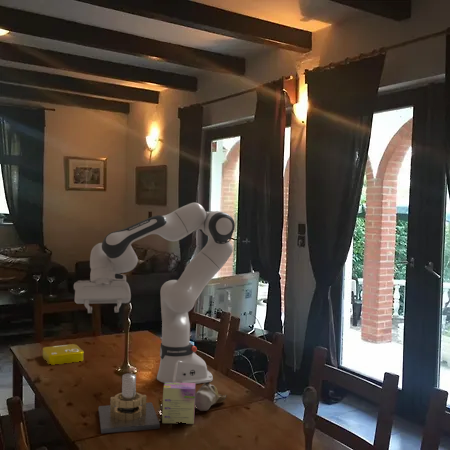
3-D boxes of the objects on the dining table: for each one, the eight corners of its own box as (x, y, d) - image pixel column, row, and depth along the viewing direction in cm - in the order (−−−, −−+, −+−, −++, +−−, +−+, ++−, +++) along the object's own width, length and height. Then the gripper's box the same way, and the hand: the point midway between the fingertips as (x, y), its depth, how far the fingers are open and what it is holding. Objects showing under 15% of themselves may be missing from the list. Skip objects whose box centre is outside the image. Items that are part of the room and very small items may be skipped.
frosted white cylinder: (134, 411, 177) (135, 373, 177) (136, 417, 173) (137, 377, 172) (120, 412, 176) (121, 373, 175) (121, 418, 172) (122, 378, 171)
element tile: (75, 352, 246) (75, 342, 246) (84, 361, 233) (84, 351, 233) (41, 356, 238) (41, 346, 238) (49, 366, 226) (49, 355, 225)
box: (194, 417, 178) (195, 382, 178) (194, 424, 172) (195, 388, 172) (163, 416, 178) (164, 381, 177) (161, 423, 172) (162, 387, 172)
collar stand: (151, 406, 186) (152, 385, 185) (159, 428, 168) (160, 405, 168) (98, 410, 181) (99, 388, 180) (101, 433, 164) (101, 409, 163)
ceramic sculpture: (185, 385, 183) (202, 374, 197) (183, 410, 183) (201, 398, 197) (213, 390, 179) (229, 379, 193) (212, 416, 179) (228, 403, 193)
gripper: (73, 275, 196) (73, 307, 187) (130, 275, 202) (132, 306, 193) (73, 285, 200) (73, 317, 191) (128, 285, 206) (130, 315, 197)
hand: (103, 311), depth 192 cm, fingers open, 8 cm apart
